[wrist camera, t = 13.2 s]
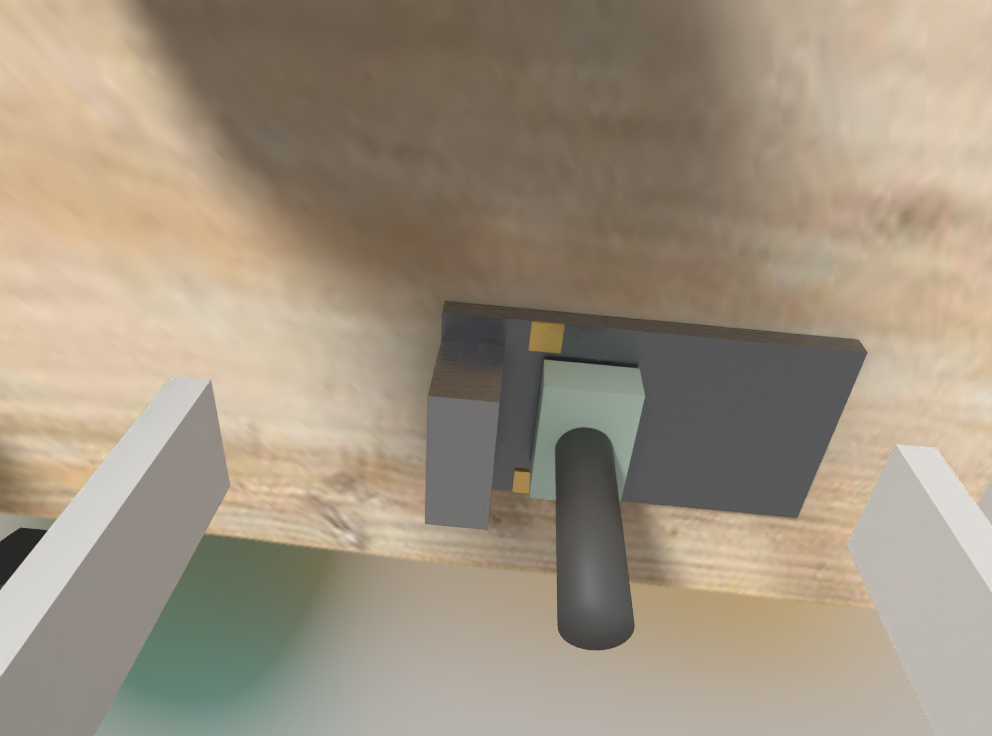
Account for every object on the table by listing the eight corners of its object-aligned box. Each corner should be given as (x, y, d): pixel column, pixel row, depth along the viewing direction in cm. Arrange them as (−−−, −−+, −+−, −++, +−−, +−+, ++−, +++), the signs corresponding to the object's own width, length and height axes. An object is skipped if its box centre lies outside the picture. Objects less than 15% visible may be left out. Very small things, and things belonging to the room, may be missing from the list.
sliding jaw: (529, 468, 49) (523, 676, 36) (544, 359, 44) (542, 554, 31) (615, 476, 49) (641, 688, 36) (639, 368, 44) (679, 567, 31)
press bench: (438, 469, 52) (424, 545, 46) (445, 301, 45) (428, 365, 38) (791, 502, 52) (824, 584, 46) (858, 339, 44) (909, 411, 38)
